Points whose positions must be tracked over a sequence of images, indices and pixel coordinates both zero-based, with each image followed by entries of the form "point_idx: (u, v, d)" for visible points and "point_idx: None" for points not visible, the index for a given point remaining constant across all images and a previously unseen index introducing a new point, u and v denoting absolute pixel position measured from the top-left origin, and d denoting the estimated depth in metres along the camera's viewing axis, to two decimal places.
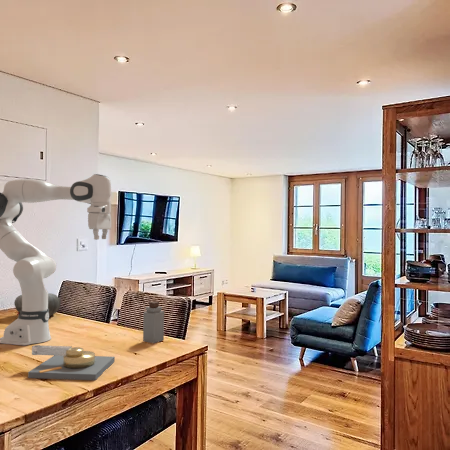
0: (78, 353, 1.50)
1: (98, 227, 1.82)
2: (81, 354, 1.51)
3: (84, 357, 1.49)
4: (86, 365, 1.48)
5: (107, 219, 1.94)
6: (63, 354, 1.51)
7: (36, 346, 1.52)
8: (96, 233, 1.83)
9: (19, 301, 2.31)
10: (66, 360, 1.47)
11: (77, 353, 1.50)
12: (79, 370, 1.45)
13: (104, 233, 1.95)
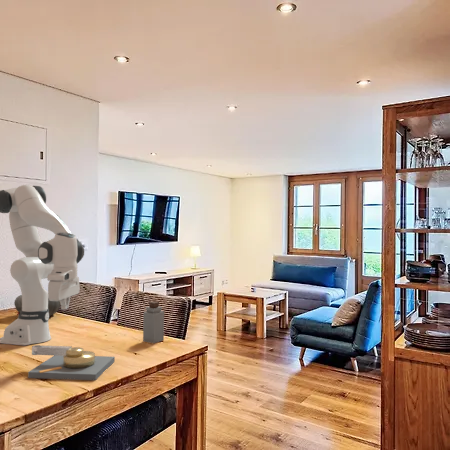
0: (78, 353, 1.50)
1: (60, 298, 1.54)
2: (81, 354, 1.51)
3: (84, 357, 1.49)
4: (86, 365, 1.48)
5: (74, 283, 1.66)
6: (63, 354, 1.51)
7: (36, 346, 1.52)
8: (63, 302, 1.59)
9: (19, 301, 2.31)
10: (66, 360, 1.47)
11: (77, 353, 1.50)
12: (79, 370, 1.45)
13: (66, 301, 1.63)
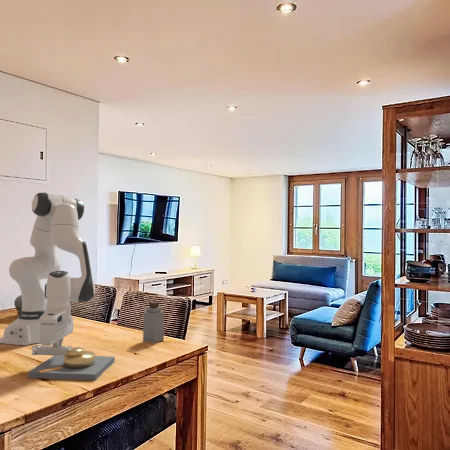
0: (78, 353, 1.50)
1: (53, 341, 1.48)
2: (81, 354, 1.51)
3: (84, 357, 1.49)
4: (86, 365, 1.48)
5: (67, 323, 1.60)
6: (63, 354, 1.51)
7: (36, 346, 1.52)
8: (56, 345, 1.53)
9: (19, 301, 2.31)
10: (66, 360, 1.47)
11: (77, 353, 1.50)
12: (79, 370, 1.45)
13: (59, 342, 1.57)
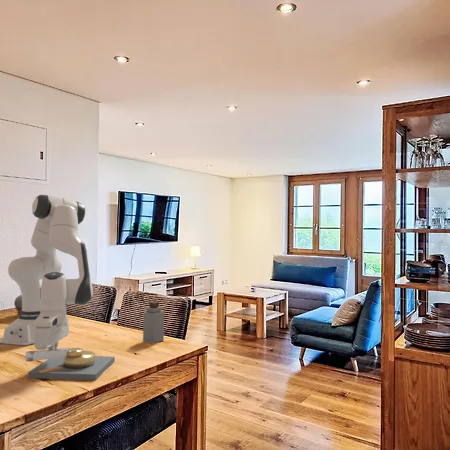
0: (80, 353, 1.50)
1: (48, 345, 1.43)
2: (82, 354, 1.51)
3: (88, 356, 1.51)
4: (91, 363, 1.50)
5: (62, 326, 1.56)
6: (63, 356, 1.48)
7: (30, 352, 1.45)
8: (52, 348, 1.49)
9: (19, 301, 2.31)
10: (72, 361, 1.46)
11: (80, 353, 1.50)
12: (79, 370, 1.45)
13: (54, 346, 1.52)
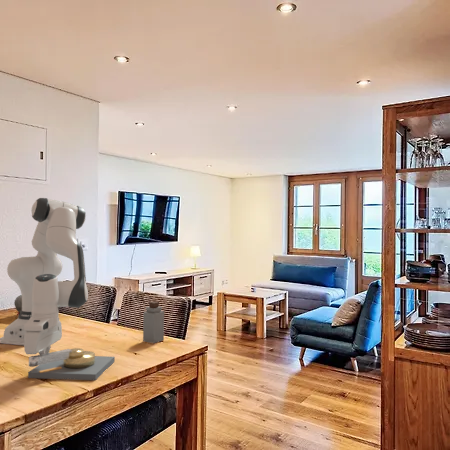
0: (83, 352, 1.50)
1: (38, 350, 1.38)
2: None
3: (90, 355, 1.52)
4: (94, 361, 1.52)
5: (55, 329, 1.50)
6: (66, 357, 1.47)
7: (34, 357, 1.40)
8: (42, 353, 1.44)
9: (19, 301, 2.31)
10: (78, 361, 1.46)
11: (83, 353, 1.50)
12: (79, 370, 1.45)
13: (46, 350, 1.47)
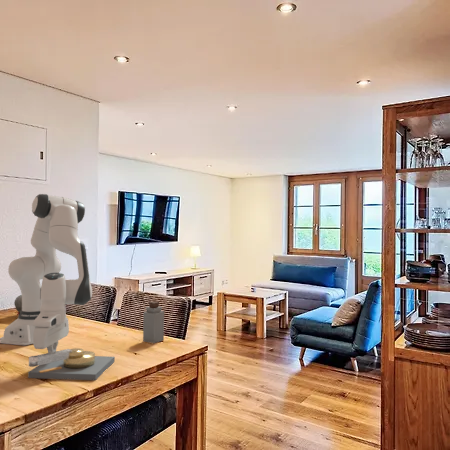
0: (83, 352, 1.50)
1: (47, 345, 1.45)
2: None
3: (90, 355, 1.52)
4: (94, 361, 1.52)
5: (62, 326, 1.57)
6: (66, 357, 1.47)
7: (34, 357, 1.40)
8: (50, 348, 1.50)
9: (19, 301, 2.31)
10: (78, 361, 1.46)
11: (83, 353, 1.50)
12: (79, 370, 1.45)
13: (53, 346, 1.54)
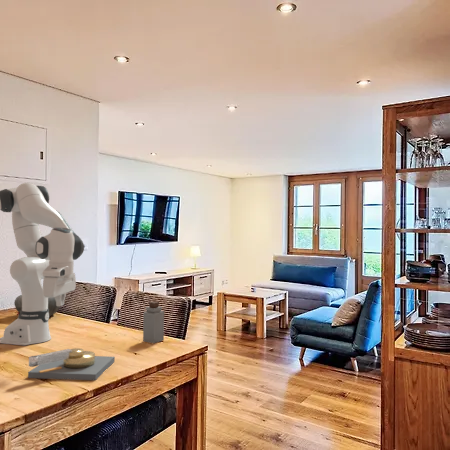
0: (83, 352, 1.50)
1: (56, 294, 1.50)
2: None
3: (90, 355, 1.52)
4: (94, 361, 1.52)
5: (70, 280, 1.62)
6: (66, 357, 1.47)
7: (34, 357, 1.40)
8: (58, 299, 1.55)
9: (19, 301, 2.31)
10: (78, 361, 1.46)
11: (83, 353, 1.50)
12: (79, 370, 1.45)
13: (61, 298, 1.59)
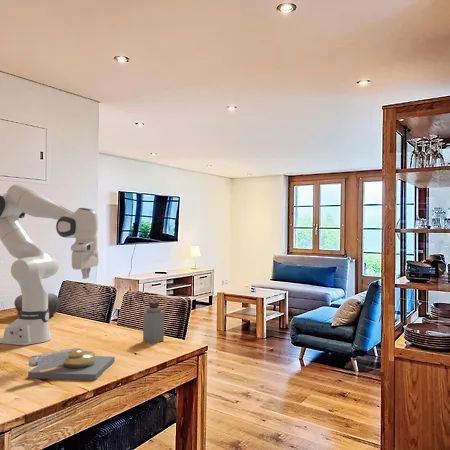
0: (83, 352, 1.50)
1: (83, 267, 1.67)
2: None
3: (90, 355, 1.52)
4: (94, 361, 1.52)
5: (93, 255, 1.79)
6: (66, 357, 1.47)
7: (34, 357, 1.40)
8: (84, 272, 1.72)
9: (19, 301, 2.31)
10: (78, 361, 1.46)
11: (83, 353, 1.50)
12: (79, 370, 1.45)
13: (87, 271, 1.76)
